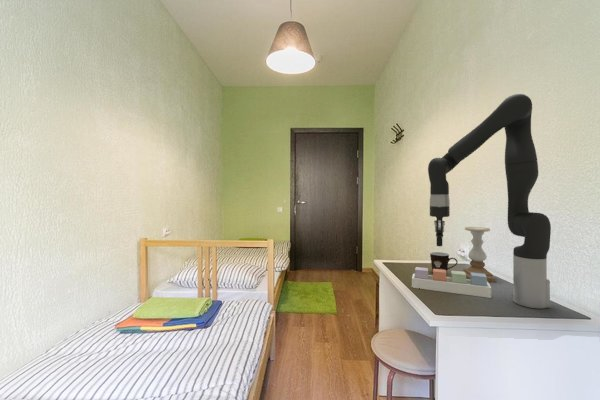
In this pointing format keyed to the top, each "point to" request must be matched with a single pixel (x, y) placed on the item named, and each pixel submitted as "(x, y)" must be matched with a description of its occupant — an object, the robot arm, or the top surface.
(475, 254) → the candle holder
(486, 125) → the robot arm
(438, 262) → the coffee mug
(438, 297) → the top surface
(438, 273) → the terracotta key
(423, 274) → the lavender block
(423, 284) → the frame
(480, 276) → the light blue block
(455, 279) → the sage green key
